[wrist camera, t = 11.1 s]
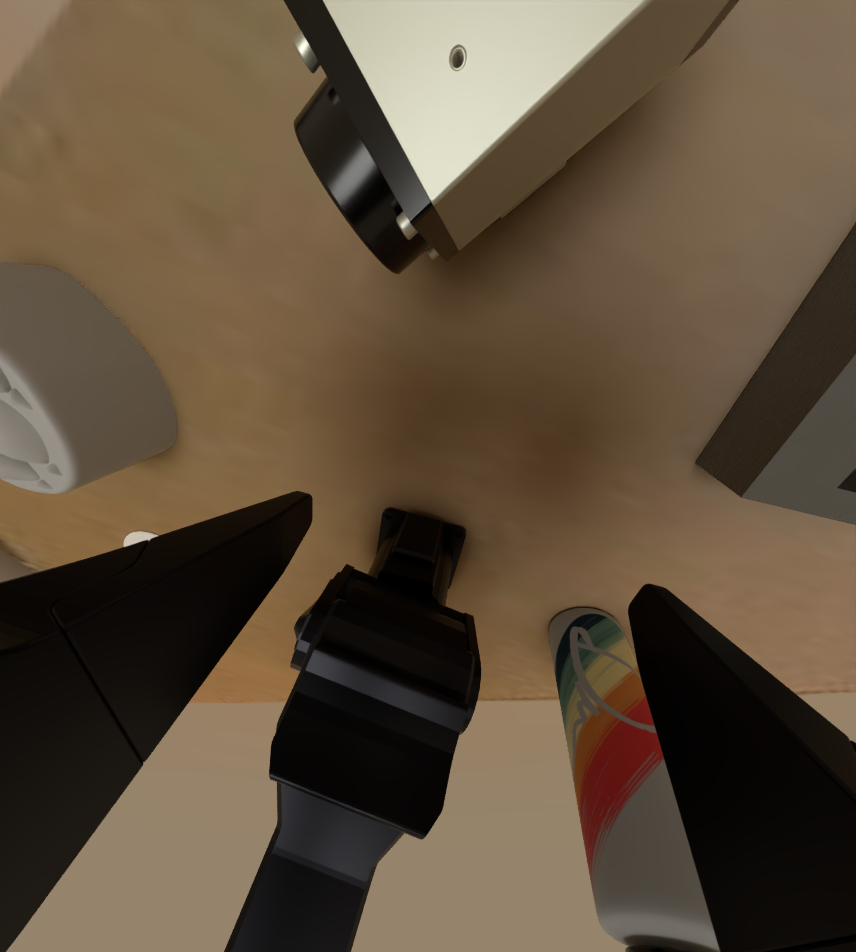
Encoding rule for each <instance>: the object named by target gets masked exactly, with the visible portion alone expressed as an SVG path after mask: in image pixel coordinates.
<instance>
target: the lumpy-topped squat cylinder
mask: <svg viewBox="0 0 856 952" xmlns="http://www.w3.org/2000/svg"><path fill="white" fill-rule="evenodd" d="M176 437H177V420H176V413H175V409H174V405H173V402H172V400H171V397H170V395H169V392H168V390H167V388H166V385H165V383H164V381H163V379H162V377H161V375H160V373H159V371H158V369H157V367H156V365H155V363H154V361H153V360H152V358H151V357H150V356H149V354H148V353H147V352H146V351H145V349H144V348H143V347H142V346H141V344H140V343H139V342H138V341H137V340H136V339H135V338H134V336H133V335H132V334H131V333H130V332H129V331H128V330H127V329H126V328H125V326H124V325H123V324H122V323H121V322H120V321H119V320H118V319H117V318H116V317H115V316H114V315H113V314H112V313H111V312H110V311H109V310H108V309H107V308H106V307H105V306H104V305H103V304H102V303H101V302H100V301H99V300H98V299H97V298H96V297H95V296H93V295H92V294H91V293H90V292H89V291H88V290H87V289H86V288H85V287H84V286H83V285H82V284H80V283H79V282H78V281H77V280H75V279H74V278H73V277H71V276H70V275H68V274H66V273H65V272H63V271H61V270H59V269H56V268H53V267H49V266H41V265H31V264H21V263H11V262H1V261H0V479H2V480H4V481H6V482H8V483H11V484H13V485H15V486H18V487H20V488H23V489H26V490H30V491H34V492H40V493H48V494H61V493H65V492H69V491H71V490H74V489H76V488H78V487H80V486H83V485H85V484H88V483H90V482H93V481H95V480H98V479H100V478H102V477H105V476H107V475H109V474H112V473H114V472H117V471H119V470H122V469H124V468H126V467H129V466H131V465H133V464H136V463H138V462H140V461H143V460H145V459H147V458H150V457H152V456H154V455H157V454H159V453H161V452H164V451H166V450H168V449H170V448H171V447H172V446H173V444H174V443H175V441H176Z"/></svg>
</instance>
